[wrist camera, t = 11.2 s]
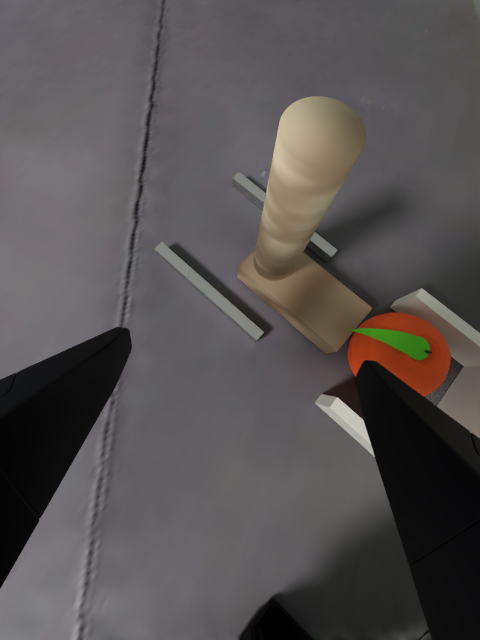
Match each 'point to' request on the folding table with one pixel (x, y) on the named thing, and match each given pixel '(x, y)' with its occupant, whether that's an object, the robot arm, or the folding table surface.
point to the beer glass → (426, 637)
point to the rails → (212, 294)
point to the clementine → (402, 349)
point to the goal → (465, 347)
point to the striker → (306, 221)
